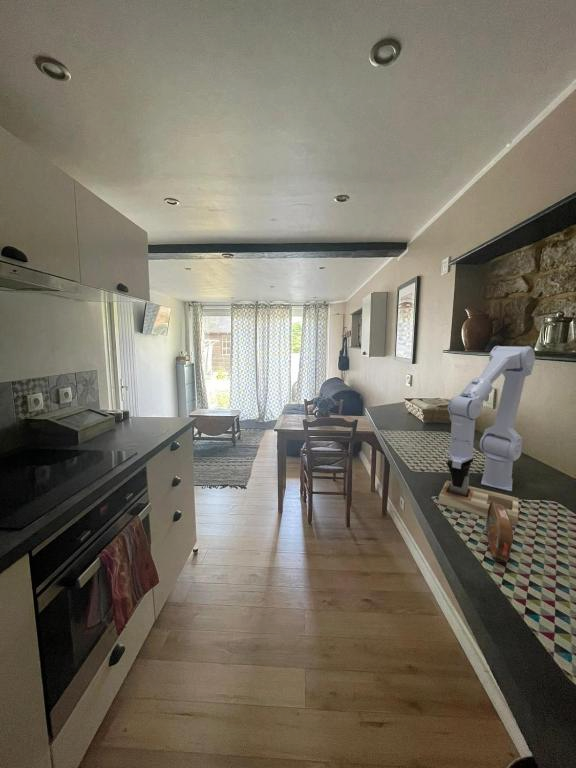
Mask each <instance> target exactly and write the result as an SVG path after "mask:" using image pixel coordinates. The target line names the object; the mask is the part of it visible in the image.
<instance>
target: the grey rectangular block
mask: <svg viewBox="0 0 576 768" xmlns="http://www.w3.org/2000/svg"><path fill="white" fill-rule="evenodd" d="M470 473H471V472H470V471H469V470H468V471H467V473H466V475H465V478H464V482H463V485H462V487H461V488H460V487H456V486H453V483H452V477H451V478H450V481H451V490H450V493H452V494H455V495H459V496H463V497H467V495H468V486H470V485H469V484H470V483H469V482H470Z"/></svg>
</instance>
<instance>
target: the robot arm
mask: <svg viewBox="0 0 576 768" xmlns="http://www.w3.org/2000/svg"><path fill="white" fill-rule="evenodd" d="M490 350H491V351H490V352H489V355H488V356H489V357H488V358H489V359H488V360H489V361H488V363H487V365H486V366H485V368H484V370H483V371H482V373H481V374H480V376H479V377H474V378H472V379H471V380H470V382H469V383H468V384H467V385H466V387H465V388H464V389H463V390H462V391H461V393H460V394H459V395H455V396H453V397H452V398H451V399H450V400H449V402H448V405H447V412H448V413H449V421H451V426H450V439H449V442H450V443H449V449H445V451H444V454H446V455H449V457H450V459H451V460H447V462H446V465H447V467H448V470H449V472H450V475H451V477H452V483H453V486H456V487H460V488H461V487H462V485H463V482H464V478H465V475H466V473H467V471H469V470H470V469H471V465H472V463H473V461H474V454H473V453H474V443H475V442H474V441H475V428H476V419H477V418H478V417H479V416H480V415H481V412H482V408H483V407H484V402H485V400H486V399H487V397H489V396H490V394H491V392H492V391H493V383H495V381H496V380H497V379H498V378H500V377H501V375H503V376H504V381H503V385H502V389H501V394H500V399H499V403H498V407H497V411H496V415H495V421H494V424H493V425H492V426H489V427H487V428H486V429H484V432H483V434H482V437H481V438H480V441H479V448H480V451H481V452H483V456H485V458H484V459H485V460H484V471H483V474H482V477H481V482H480V485H483V486H487V487H490V488H494V489H499V490H503V491H508V492H512V491H513V478H512V476H513V475H512V473H513V464H514V462H515V461H517V460H518V459H519V458H520V456H521V455H522V450H523V447H522V443H523V437H522V436H521V435H520V434H519V433H518V432H517V431H516V430H515V429H514V428H515V424H516V419H517V414H518V410H519V406H520V401H521V398H522V392H523V388H524V384H525V380H526V377H528V376H531V375H532V372H533V369H534V365H535V364H534V363H535V361H536V355H535V351H534V349H533V348H532V347H531V346H529V345H527V346H505V345H504V346H502V345H501V346H500V345H495V346H494V347H493V348H492V349H490Z"/></svg>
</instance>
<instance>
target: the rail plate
mask: <svg viewBox="0 0 576 768" xmlns="http://www.w3.org/2000/svg"><path fill="white" fill-rule="evenodd" d="M450 490H451V480H446V481H445V482H444V485H443V487H442V489H441V491H440V493H439V494H438V504H440V505H443V506H446V507H450V508H453V509H454V508H455V509H457V510H461V511H464V512H467V513H470V514H474V515H478V516H481V517H484V518H487V515H488V509H489V505H490V503H491V502H493V503H497V504H501V505H503V506H505V508H506V510H507V513H508V516H509V518H510V521H511V524H512V526H516V527H517V526H518V521H519V497H515V496H511V495H507V494H505V493H504V494H503V493H500V492H497V491H490V490H487V489H483V488H477V487H475V486H474V487H473V486H471V485H469V486H468V495H467V497H463V496H459V495H455V494H452V493H450Z"/></svg>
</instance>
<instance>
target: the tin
mask: <svg viewBox="0 0 576 768" xmlns="http://www.w3.org/2000/svg"><path fill="white" fill-rule="evenodd" d="M489 504H490V505H489V509H488V515H487V517H486V536H487V541H488V544H489V549H490V554H491V556H492V557H493V558H497V559H501V560H504V561H508V560H509V559H510V557H511V550H512V547H513V543H514V530H513V529H514V528H513V525H512V524H511V521H510V518H509V516H508V513H507V510H506V509H507V508H505V506H503V505H501V504H497V503H493V502H491V503H489Z"/></svg>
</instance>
